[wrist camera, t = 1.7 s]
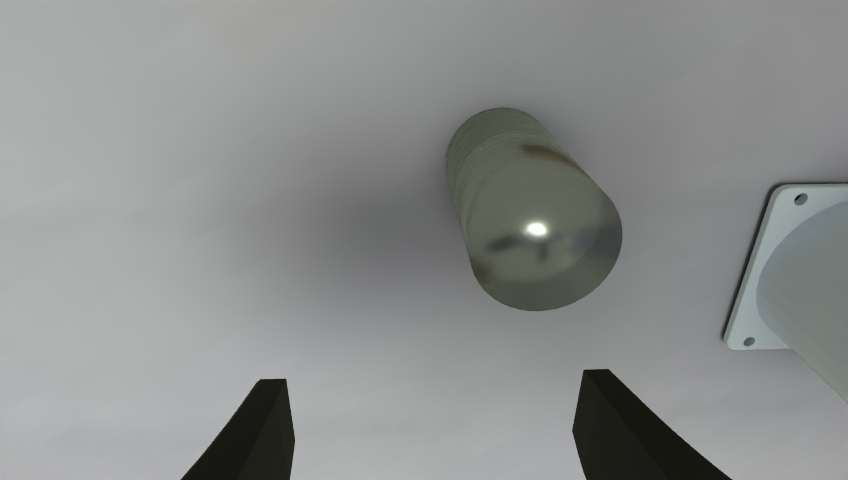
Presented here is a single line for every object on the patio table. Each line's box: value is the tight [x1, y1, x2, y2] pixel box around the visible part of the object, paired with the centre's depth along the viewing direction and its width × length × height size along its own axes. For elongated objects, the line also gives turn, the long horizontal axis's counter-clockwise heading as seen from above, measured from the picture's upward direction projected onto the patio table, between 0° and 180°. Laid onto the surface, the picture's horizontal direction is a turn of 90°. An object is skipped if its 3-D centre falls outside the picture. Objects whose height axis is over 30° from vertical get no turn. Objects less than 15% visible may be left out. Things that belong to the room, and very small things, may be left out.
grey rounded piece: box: [446, 108, 622, 311], centre depth 17 cm, size 4×4×7 cm
